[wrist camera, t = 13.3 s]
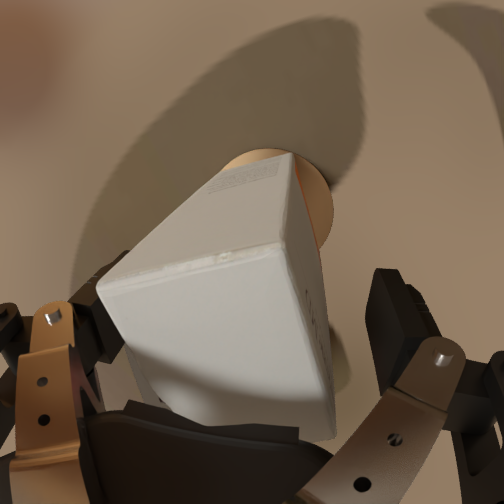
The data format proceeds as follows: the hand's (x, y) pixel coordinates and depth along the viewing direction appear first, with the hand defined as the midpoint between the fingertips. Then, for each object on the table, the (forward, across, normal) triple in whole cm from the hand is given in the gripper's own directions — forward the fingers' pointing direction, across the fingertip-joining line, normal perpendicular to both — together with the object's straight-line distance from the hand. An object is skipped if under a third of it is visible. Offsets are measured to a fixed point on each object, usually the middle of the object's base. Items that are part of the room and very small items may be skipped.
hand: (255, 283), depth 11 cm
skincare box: (+7, 0, 0) cm, 7 cm away
